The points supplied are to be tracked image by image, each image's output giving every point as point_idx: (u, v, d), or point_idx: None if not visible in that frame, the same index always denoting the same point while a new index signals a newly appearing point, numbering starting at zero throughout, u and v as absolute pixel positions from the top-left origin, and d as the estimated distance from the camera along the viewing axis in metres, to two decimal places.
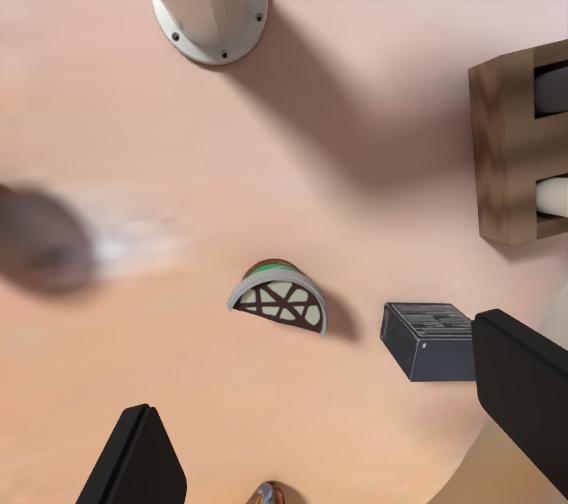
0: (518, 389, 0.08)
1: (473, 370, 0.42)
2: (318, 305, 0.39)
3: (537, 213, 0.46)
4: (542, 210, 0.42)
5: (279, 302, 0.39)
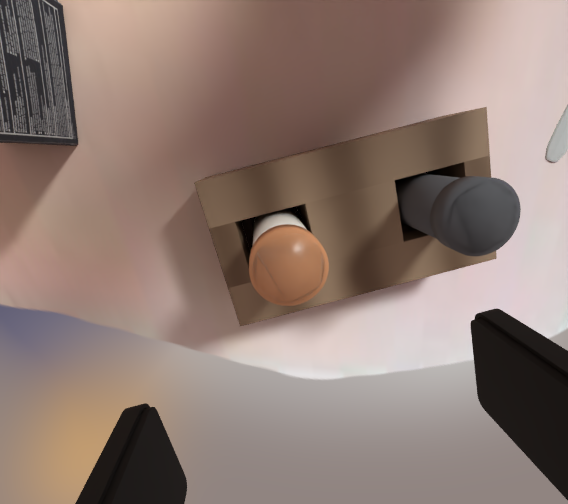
0: (518, 389, 0.08)
1: None
2: None
3: (247, 248, 0.30)
4: (257, 227, 0.26)
5: None
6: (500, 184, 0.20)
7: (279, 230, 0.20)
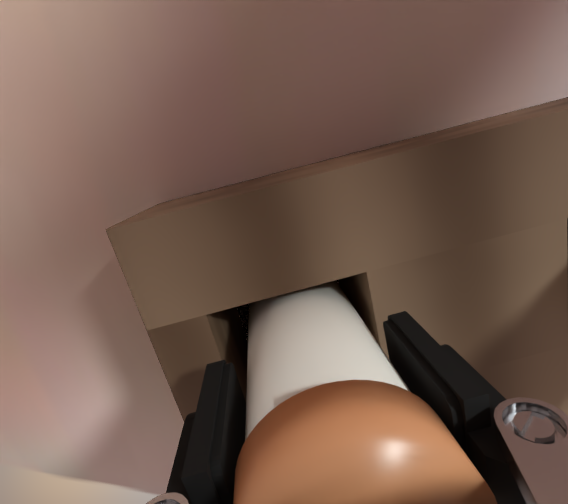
0: (411, 382, 0.09)
1: None
2: None
3: (237, 340, 0.16)
4: (258, 323, 0.11)
5: None
6: None
7: (340, 441, 0.05)
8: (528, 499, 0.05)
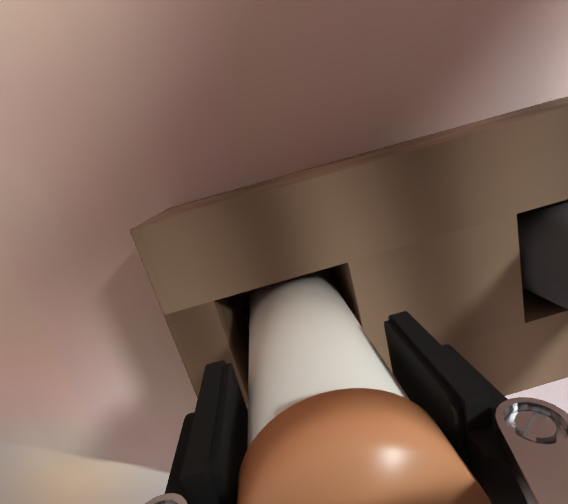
0: (412, 382, 0.09)
1: None
2: None
3: (240, 327, 0.18)
4: (259, 331, 0.12)
5: None
6: None
7: (338, 449, 0.06)
8: (529, 499, 0.05)
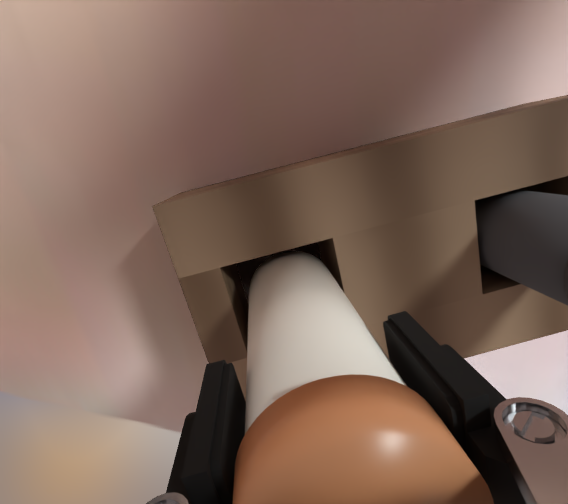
0: (411, 382, 0.09)
1: None
2: None
3: (241, 297, 0.20)
4: (258, 321, 0.12)
5: None
6: None
7: (337, 433, 0.06)
8: (528, 499, 0.05)
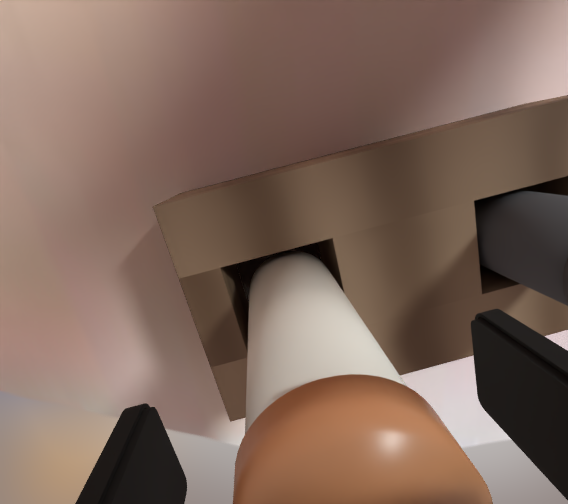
0: (518, 389, 0.08)
1: None
2: None
3: (241, 297, 0.20)
4: (258, 321, 0.12)
5: None
6: None
7: (337, 432, 0.06)
8: None
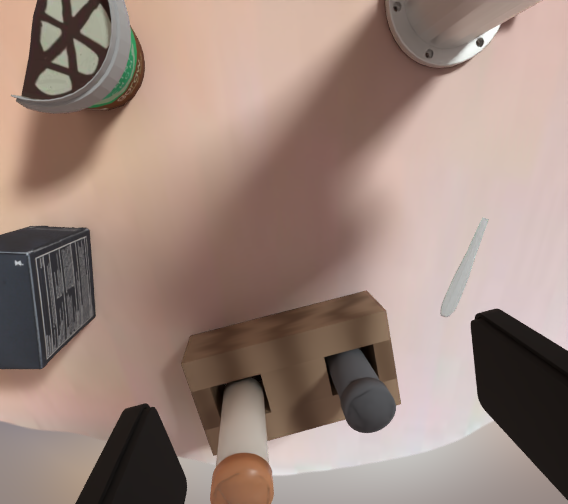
0: (518, 389, 0.08)
1: None
2: (72, 92, 0.25)
3: (220, 390, 0.40)
4: (223, 422, 0.31)
5: (72, 24, 0.24)
6: (381, 390, 0.31)
7: (234, 469, 0.25)
8: None
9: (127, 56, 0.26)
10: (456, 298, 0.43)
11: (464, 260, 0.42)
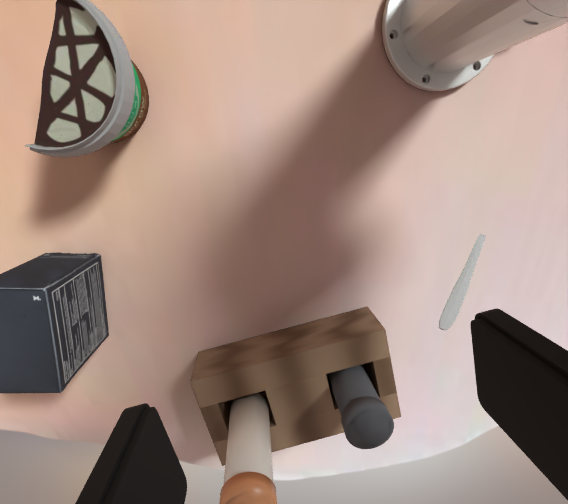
0: (518, 389, 0.08)
1: (6, 371, 0.30)
2: (81, 139, 0.27)
3: (228, 403, 0.42)
4: (230, 439, 0.33)
5: (79, 76, 0.25)
6: (379, 409, 0.32)
7: (240, 488, 0.27)
8: None
9: (132, 102, 0.27)
10: (454, 312, 0.44)
11: (462, 276, 0.43)
